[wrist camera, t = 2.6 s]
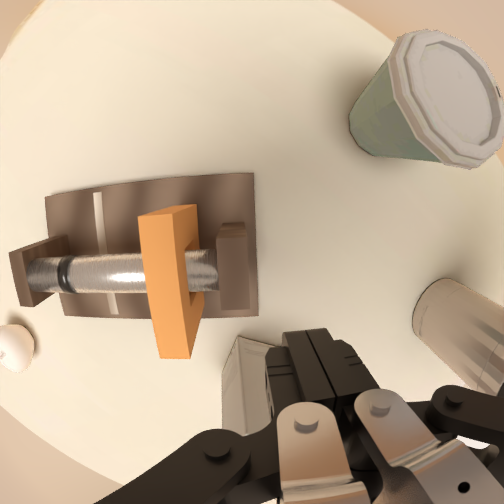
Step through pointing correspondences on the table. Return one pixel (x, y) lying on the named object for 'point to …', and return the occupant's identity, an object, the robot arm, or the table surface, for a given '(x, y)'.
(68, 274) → the pipe
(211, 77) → the table surface
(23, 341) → the plain white apple
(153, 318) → the square ring
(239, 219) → the pipe stand
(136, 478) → the robot arm
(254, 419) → the skincare box
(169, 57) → the table surface
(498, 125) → the disposable coffee cup
